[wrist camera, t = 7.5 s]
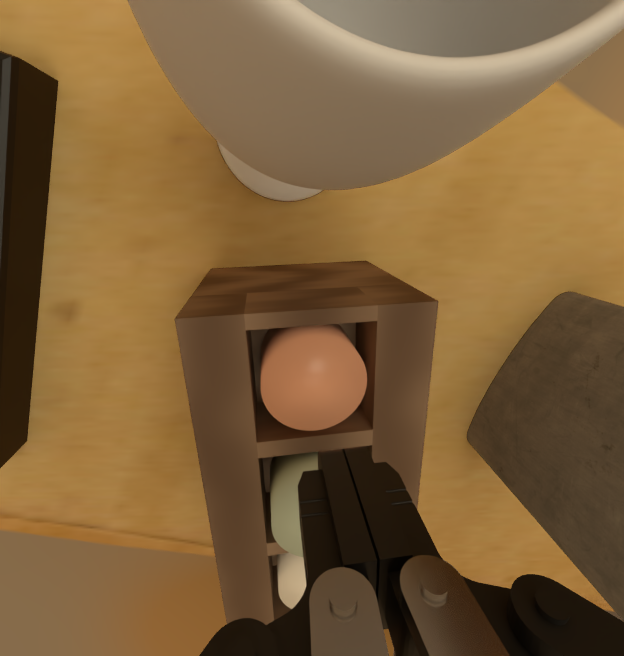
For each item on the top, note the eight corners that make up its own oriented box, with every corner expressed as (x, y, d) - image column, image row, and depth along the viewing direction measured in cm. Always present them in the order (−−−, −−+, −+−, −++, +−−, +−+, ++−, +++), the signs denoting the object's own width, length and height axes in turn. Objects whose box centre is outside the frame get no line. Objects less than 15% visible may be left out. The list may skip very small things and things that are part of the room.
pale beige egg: (347, 498, 23) (361, 548, 20) (346, 551, 24) (360, 605, 21) (273, 508, 22) (275, 561, 19) (278, 562, 24) (280, 619, 21)
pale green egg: (354, 428, 19) (373, 474, 16) (352, 495, 21) (370, 550, 18) (266, 437, 19) (267, 487, 15) (272, 506, 20) (274, 564, 17)
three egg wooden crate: (366, 260, 25) (438, 301, 15) (360, 478, 32) (407, 607, 22) (211, 268, 24) (174, 318, 14) (239, 493, 31) (229, 638, 21)
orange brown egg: (349, 307, 18) (368, 331, 15) (348, 388, 20) (365, 425, 17) (257, 314, 18) (256, 339, 14) (264, 396, 19) (264, 435, 16)
